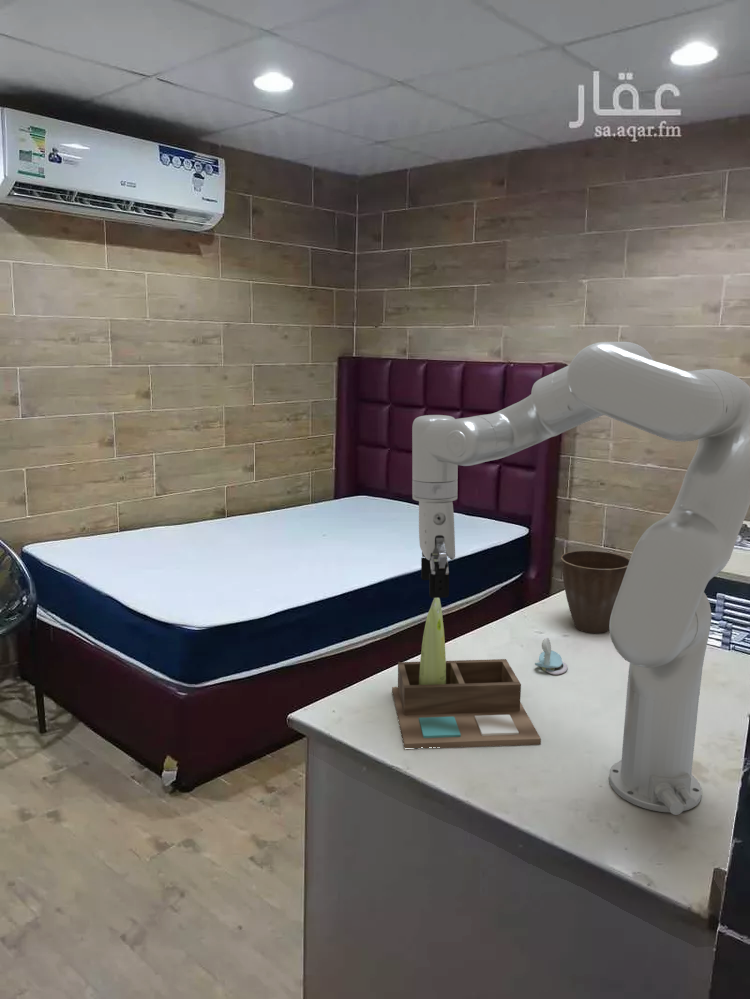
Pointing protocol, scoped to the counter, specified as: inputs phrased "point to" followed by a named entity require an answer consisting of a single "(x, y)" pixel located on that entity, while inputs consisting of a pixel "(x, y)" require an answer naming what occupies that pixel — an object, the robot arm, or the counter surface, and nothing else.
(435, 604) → the tube
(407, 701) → the brown wooden desk organizer
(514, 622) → the counter surface
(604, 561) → the plant pot
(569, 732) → the counter surface
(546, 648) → the pacifier
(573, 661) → the counter surface
